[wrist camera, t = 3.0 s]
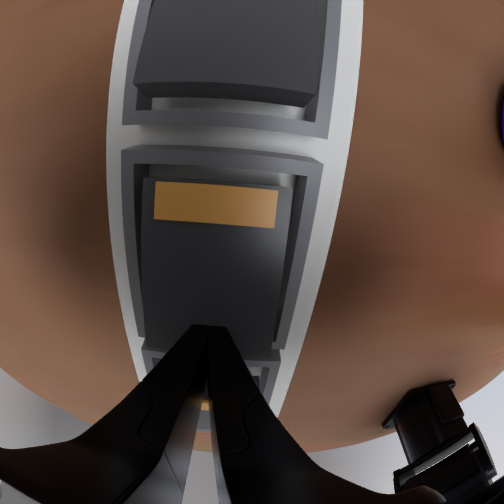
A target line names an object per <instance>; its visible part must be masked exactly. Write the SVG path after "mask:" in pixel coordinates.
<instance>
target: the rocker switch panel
mask: <svg viewBox="0 0 504 504" xmlns="http://www.w3.org/2000/svg"><path fill="white" fill-rule="evenodd" d="M154 2H155V0H124V4H123V8H122V12H121V17H120V22H119V26H118V32H117V37H116V43H115V49H114V55H113V62H112V70H111V78H110V88H109V99H108V114H107V138H106V174H107V199H108V214H109V226H110V237H111V246H112V254H113V262H114V269H115V275H116V282H117V288H118V294H119V299H120V305H121V310H122V315H123V319H124V324H125V329H126V333H127V337H128V342H129V346H130V350H131V354H132V358H133V361H134V365H135V369H136V372H137V376H138V379H139V382H140V381H142V379H143V378H144V377H145V376H146V375H147V374H148V373H149V372H150V371H151V369H152V368H153V367H154V366H155V365H156V364H157V363H158V362H159V361H160V359H161V358H162V357H163V356H164V355H165V354H166V353H167V352H168V351H169V349H165V348H158V347H151V346H146V339H145V328H144V315H143V299H142V275H141V216H142V192H143V177H166V178H187V179H204V180H218V181H231V182H243V183H254V184H264V185H273V186H282V187H289V188H293V194H292V203H291V211H290V220H289V228H288V236H287V244H286V252H285V259H284V267H283V274H282V281H281V289H280V296H279V302H278V309H277V316H276V322H275V329H274V335H273V342H272V348H271V354H270V357H257V356H242V358H243V360H244V361H245V363H246V365H247V367H248V369H249V371H250V373H251V374H252V376H259V389H260V391H261V392H260V393H262V394H263V396H264V398H265V400H266V401H267V403H268V405H269V406H270V408H271V409H272V411H273V413H274V414H275V416H276V417H277V418H278V415H279V413H280V410H281V407H282V404H283V402H284V399H285V396H286V393H287V390H288V388H289V385H290V382H291V379H292V376H293V373H294V370H295V367H296V364H297V361H298V358H299V355H300V351H301V348H302V345H303V342H304V339H305V335H306V332H307V329H308V325H309V322H310V318H311V315H312V312H313V308H314V304H315V301H316V297H317V294H318V290H319V286H320V282H321V278H322V275H323V271H324V267H325V263H326V259H327V255H328V250H329V246H330V242H331V238H332V233H333V229H334V224H335V220H336V215H337V210H338V205H339V200H340V195H341V190H342V185H343V180H344V174H345V169H346V163H347V157H348V151H349V145H350V139H351V132H352V125H353V118H354V111H355V103H356V95H357V86H358V76H359V66H360V54H361V41H362V23H363V0H319V46H318V72H317V91H316V95H315V96H314V97H313V99H312V100H311V101H310V102H309V103H308V104H307V105H306V106H305V107H304V108H300V107H294V106H288V105H281V104H273V103H265V102H256V101H246V100H234V99H219V98H192V97H165V98H147V97H146V96H145V95H144V94H143V93H142V92H141V91H140V90H139V89H138V88H137V87H135V86H134V85H133V84H132V83H133V79H134V74H135V69H136V65H137V61H138V56H139V52H140V48H141V44H142V41H143V37H144V33H145V30H146V27H147V23H148V20H149V17H150V14H151V10H152V7H153V4H154ZM196 431H199V432H210V433H211V430H203V429H197V430H196Z"/></svg>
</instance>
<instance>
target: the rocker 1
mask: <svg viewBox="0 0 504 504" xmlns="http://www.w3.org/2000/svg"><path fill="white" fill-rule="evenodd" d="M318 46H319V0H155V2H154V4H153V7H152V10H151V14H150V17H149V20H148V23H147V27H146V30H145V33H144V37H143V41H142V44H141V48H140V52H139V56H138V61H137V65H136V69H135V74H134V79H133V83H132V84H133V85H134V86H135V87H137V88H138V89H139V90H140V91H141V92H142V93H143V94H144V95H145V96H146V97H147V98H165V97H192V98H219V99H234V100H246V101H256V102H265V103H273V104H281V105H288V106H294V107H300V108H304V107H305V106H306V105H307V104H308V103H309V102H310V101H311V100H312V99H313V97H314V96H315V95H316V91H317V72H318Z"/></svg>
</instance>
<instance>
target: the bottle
mask: <svg viewBox="0 0 504 504" xmlns="http://www.w3.org/2000/svg"><path fill="white" fill-rule="evenodd" d="M502 133H503V141H504V100H503V113H502Z"/></svg>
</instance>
